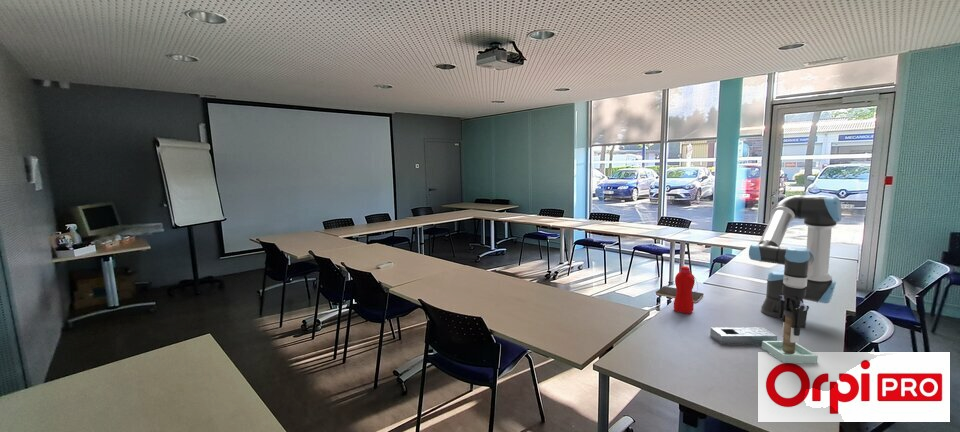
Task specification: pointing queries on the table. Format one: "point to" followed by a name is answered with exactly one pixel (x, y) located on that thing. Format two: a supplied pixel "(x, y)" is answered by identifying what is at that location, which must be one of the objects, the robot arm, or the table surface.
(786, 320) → the pin
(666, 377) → the table surface
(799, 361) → the tray
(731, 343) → the block
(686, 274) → the water bottle
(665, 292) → the hardcover book
